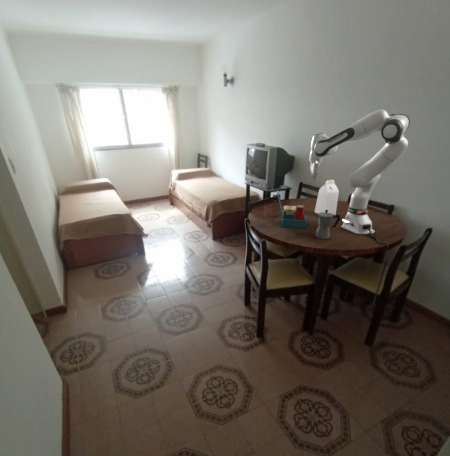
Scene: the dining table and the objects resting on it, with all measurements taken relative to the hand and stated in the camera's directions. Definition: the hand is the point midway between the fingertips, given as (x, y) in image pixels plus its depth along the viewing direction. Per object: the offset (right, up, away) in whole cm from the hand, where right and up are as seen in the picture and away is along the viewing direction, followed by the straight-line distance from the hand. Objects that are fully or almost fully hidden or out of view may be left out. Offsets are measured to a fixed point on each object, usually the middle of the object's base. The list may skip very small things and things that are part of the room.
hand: (313, 179), depth 200 cm
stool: (-14, -26, +14) cm, 32 cm away
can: (-11, -33, 0) cm, 34 cm away
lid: (-25, -20, -5) cm, 32 cm away
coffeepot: (+1, -45, -20) cm, 49 cm away
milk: (+17, -21, +23) cm, 35 cm away
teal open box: (-15, -33, +1) cm, 36 cm away
